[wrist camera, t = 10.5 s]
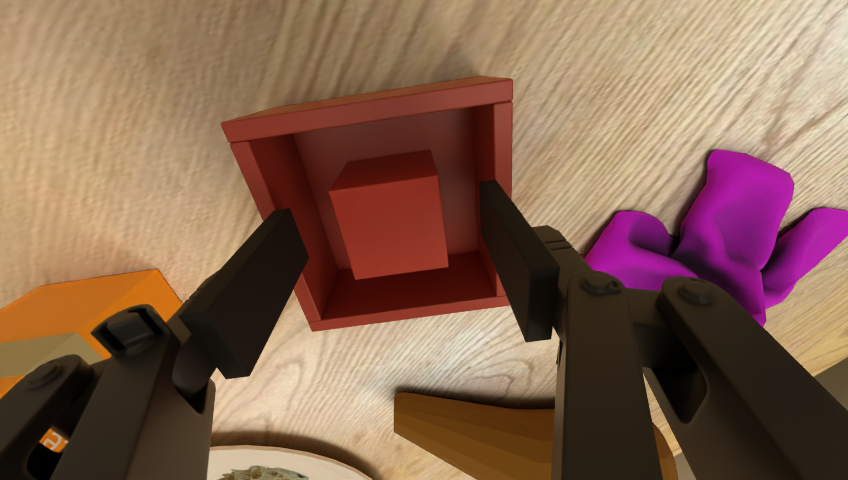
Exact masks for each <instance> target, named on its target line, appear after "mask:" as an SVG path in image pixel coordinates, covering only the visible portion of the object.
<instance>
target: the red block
mask: <svg viewBox="0 0 848 480" xmlns="http://www.w3.org/2000/svg"><path fill="white" fill-rule="evenodd" d="M328 193H329V196H330V199H331V203H332V206H333V209H334V213H335V216H336V219H337V222H338V226H339V229H340V232H341V235H342V239H343V242H344V245H345V248H346V252H347V255H348V258H349V261H350V265H351V268H352V271H353V275H354V278H355V280H358V279H365V278H372V277H379V276H387V275H394V274H401V273H409V272H416V271H423V270H431V269H438V268H445V267H448V266H449V264H448V255H447V246H446V237H445V228H444V219H443V210H442V201H441V192H440V183H439V175H438V172H437V169H436V165H435V162H434V159H433V155H432V152H431V150H425V151H418V152H411V153H404V154H398V155H391V156H384V157H377V158H370V159H363V160H357V161H350V162H347V163H346V165H345V166H344V168H343V170H342V171H341V173H340V174H339V176H338V177H337V179H336V180H335V182H334V183H333V185H332V186H331V188H330V190H329V191H328Z"/></svg>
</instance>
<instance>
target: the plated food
mask: <svg viewBox="0 0 848 480" xmlns="http://www.w3.org/2000/svg"><path fill="white" fill-rule="evenodd" d="M207 480H372V479H371V478H370V477H368V476H367V475H365V474H363V473H362V472H360V471H359V470H357V469H355V468H353V467H351V466H348V465H346V464H344V463H341V462H339V461H336V460H334V459H331V458H327V457H324V456H320V455H316V454H313V453H309V452H304V451H298V450H292V449H286V448H280V447H268V446H252V445H239V446H215V447H210V452H209V462H208V472H207Z"/></svg>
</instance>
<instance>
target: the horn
mask: <svg viewBox="0 0 848 480" xmlns="http://www.w3.org/2000/svg"><path fill="white" fill-rule="evenodd" d="M554 415H555V409H527V410H525V409H508V408H502V407H495V406H489V405H483V404H476V403H470V402H464V401H458V400H451V399H445V398H439V397H432V396H426V395H420V394H413V393H407V392H402V393H397V394H395V398H394V432H395V433H397V434H398V435H400V436H402V437H404V438H405V439H407V440H409V441H411V442H412V443H414V444H416V445H418V446H419V447H421V448H423V449H425V450H426V451H428V452H430V453H431V454H433V455H435V456H437V457H438V458H440V459H442V460H444V461H445V462H447V463H449V464H451V465H452V466H454V467H456V468H458V469H459V470H461V471H463V472H465V473H466V474H468V475H470V476H472V477H473V478H475V479H477V480H551V466H552V449H553V432H554ZM652 424H653V429H654V434H655V440H656V445H657V450H658V455H659V460H660V465H661V471H662V476H663V480H678V475H677V469H676V464H675V460H674V457H673V454H672V452H671V450H670V448H669V446H668V444H667V442H666V440H665V438H664V436H663V434H662V433H661V432H660V430H659V429H658V428H657V427H656V425H655V424H654V423H653V422H652Z"/></svg>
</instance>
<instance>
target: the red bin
mask: <svg viewBox="0 0 848 480" xmlns="http://www.w3.org/2000/svg"><path fill="white" fill-rule="evenodd" d="M512 99H513V80H512V79H510V78H498V77H486V76H478V77H471V78H465V79H458V80H452V81H445V82H438V83H432V84H425V85H419V86H412V87H405V88H399V89H392V90H386V91H379V92H372V93H366V94H359V95H353V96H346V97H339V98H333V99H326V100H320V101H313V102H306V103H300V104H293V105H286V106H280V107H274V108H271V109H267V110H263V111H260V112H256V113H253V114H249V115H246V116H242V117H239V118H235V119H232V120H228V121H224V122H222V123H221V126H222V128H223V131H224V133H225V135H226V138H227V140H228V142H230V147H231V149H232V151H233V153H234V156H235V158H236V160H237V162H238V165H239V167H240V169H241V172H242V174H243V176H244V178H245V181H246V183H247V185H248V187H249V190H250V192H251V194H252V196H253V199H254V201H255V203H256V206H257V208H258V210H259V212H260V215H261V217H262V219H263V221H264V220H265V219H266V218H267V217H268V216H269V215H270V214H271V213H272V211H273V210H280V209H287V208H290V210H291V212H292V215H293V217H294V220H295V222H296V225H297V227H298V230H299V233H300V235H301V238H302V240H303V243H304V245H305V248H306V250H307V253H308V255H309V259H308V261H307V263H306V265H305V267H304V269H303V271H302V273H301V275H300V277H299V279H298V281H297V283H296V285H295V287H294V292H295V294H296V296H297V298H298V301H299V303H300V305H301V307H302V310H303V312H304V314H305V316H306V319H307V321H308V323H309V325H310V328H311V330H312V331H313V332H314V331H322V330H329V329H337V328H344V327H352V326H359V325H367V324H374V323H382V322H389V321H397V320H404V319H412V318H419V317H427V316H434V315H442V314H449V313H457V312H464V311H472V310H479V309H487V308H494V307H502V306H509V305H510V303H509V301H508V298H507V296H506V293H505V291H504V289H503V286H502V284H501V281H500V279H499V277H498V274H497V272H496V269H495V267H494V265H493V262H492V260H491V257H490V255H489V253H488V250H487V248H486V246H485V243H484V241H483V238H482V236H481V222H480V195H479V182H481V181H489V180H497V181H498V183H499V184H500V186H501V187H502V188H503V190H504V191H505V192H506V194H507V195H508V196H509V198H510V199H512V117H513V103H512ZM425 150H431V152H432V155H433V159H434V162H435V165H436V169H437V172H438V175H439V183H440V192H441V201H442V210H443V219H444V228H445V237H446V246H447V255H448V264H449V266H448V267H445V268H438V269H431V270H423V271H416V272H409V273H401V274H394V275H387V276H379V277H372V278H365V279H358V280H355V278H354V275H353V271H352V268H351V265H350V261H349V258H348V255H347V252H346V248H345V245H344V242H343V239H342V235H341V232H340V229H339V226H338V222H337V219H336V216H335V213H334V209H333V206H332V203H331V199H330V196H329V193H328V191H329V190H330V188H331V186H332V185H333V183H334V182H335V180H336V179H337V177H338V176H339V174H340V173H341V171H342V170H343V168H344V166H345V165H346V163H347V162H350V161H357V160H363V159H370V158H377V157H384V156H391V155H398V154H404V153H411V152H418V151H425Z"/></svg>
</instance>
